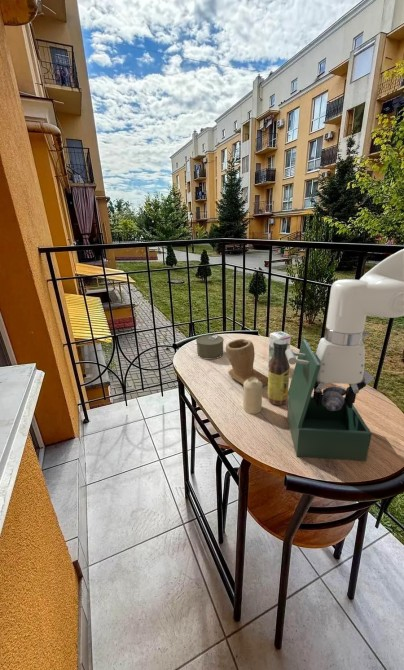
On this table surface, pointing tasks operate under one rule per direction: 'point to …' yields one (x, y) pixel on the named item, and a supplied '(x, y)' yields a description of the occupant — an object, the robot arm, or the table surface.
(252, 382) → the candle
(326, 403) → the seashell
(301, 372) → the lid
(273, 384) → the sauce bottle
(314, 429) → the chest
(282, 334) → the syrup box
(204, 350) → the can
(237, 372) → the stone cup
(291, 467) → the table surface
